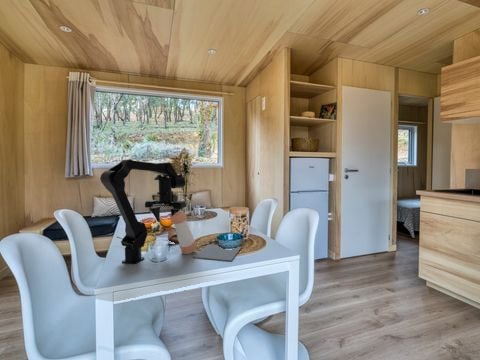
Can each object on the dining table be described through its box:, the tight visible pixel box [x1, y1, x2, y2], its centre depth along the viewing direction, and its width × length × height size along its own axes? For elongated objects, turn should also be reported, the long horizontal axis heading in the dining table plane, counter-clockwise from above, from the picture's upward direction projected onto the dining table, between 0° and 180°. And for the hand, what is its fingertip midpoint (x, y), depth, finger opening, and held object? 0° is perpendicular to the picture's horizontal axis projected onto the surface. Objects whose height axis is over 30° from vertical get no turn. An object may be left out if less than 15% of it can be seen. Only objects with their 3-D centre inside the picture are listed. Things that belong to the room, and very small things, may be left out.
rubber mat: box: [193, 243, 243, 262], centre depth 118 cm, size 18×17×1 cm
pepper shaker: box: [170, 211, 198, 255], centre depth 116 cm, size 7×7×19 cm
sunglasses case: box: [167, 229, 180, 245], centre depth 139 cm, size 18×7×7 cm
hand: (165, 222), depth 122 cm, fingers open, 7 cm apart
